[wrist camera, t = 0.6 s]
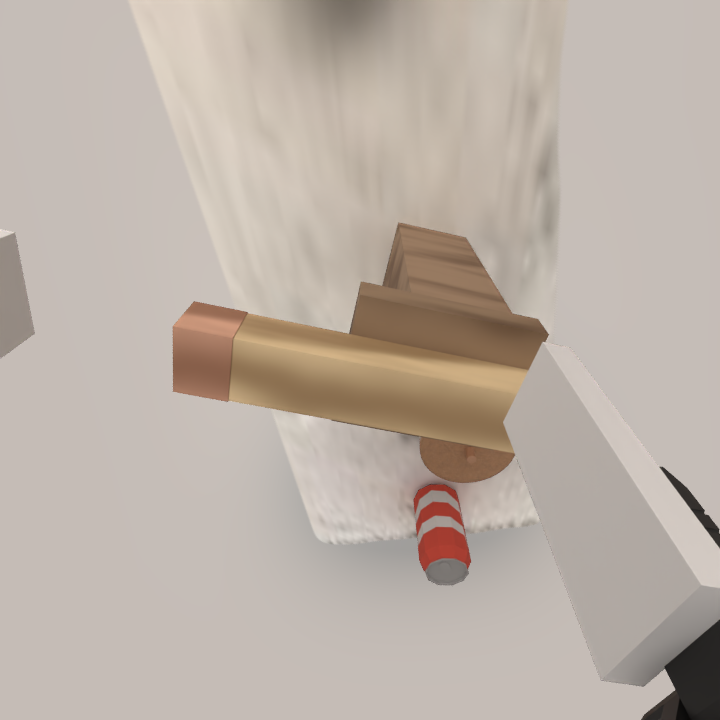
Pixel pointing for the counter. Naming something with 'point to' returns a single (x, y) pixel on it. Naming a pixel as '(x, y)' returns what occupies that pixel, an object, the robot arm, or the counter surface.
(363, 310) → the walnut stand
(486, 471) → the lidded jar
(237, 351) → the tan wooden bar
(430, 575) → the beverage can
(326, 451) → the counter surface
